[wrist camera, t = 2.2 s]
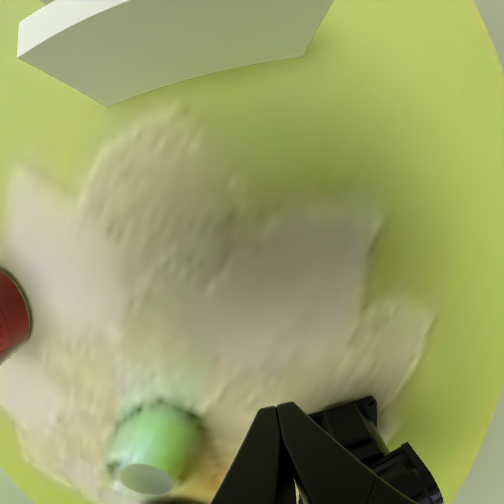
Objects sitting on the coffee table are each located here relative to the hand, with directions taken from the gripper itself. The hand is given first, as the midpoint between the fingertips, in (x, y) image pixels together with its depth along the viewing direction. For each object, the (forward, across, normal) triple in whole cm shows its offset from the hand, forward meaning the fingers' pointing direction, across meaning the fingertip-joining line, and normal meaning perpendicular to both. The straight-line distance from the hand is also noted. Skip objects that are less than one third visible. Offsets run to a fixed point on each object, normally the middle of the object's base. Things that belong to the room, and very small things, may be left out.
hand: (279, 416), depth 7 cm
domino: (+13, 0, -14) cm, 19 cm away
